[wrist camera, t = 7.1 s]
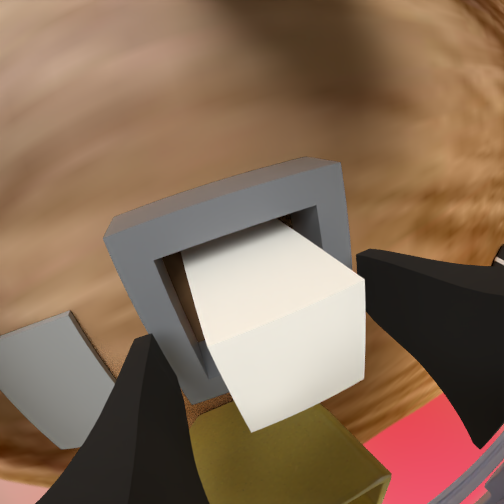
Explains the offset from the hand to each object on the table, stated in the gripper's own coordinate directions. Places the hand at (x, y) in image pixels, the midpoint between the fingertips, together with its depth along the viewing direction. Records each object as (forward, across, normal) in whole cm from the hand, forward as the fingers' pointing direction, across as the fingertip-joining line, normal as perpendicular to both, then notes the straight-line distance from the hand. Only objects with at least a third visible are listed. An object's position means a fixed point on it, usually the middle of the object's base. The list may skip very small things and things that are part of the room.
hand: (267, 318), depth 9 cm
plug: (+4, 0, 0) cm, 4 cm away
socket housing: (+3, 0, 0) cm, 3 cm away
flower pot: (+4, +2, +10) cm, 11 cm away
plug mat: (+3, +11, +4) cm, 12 cm away
